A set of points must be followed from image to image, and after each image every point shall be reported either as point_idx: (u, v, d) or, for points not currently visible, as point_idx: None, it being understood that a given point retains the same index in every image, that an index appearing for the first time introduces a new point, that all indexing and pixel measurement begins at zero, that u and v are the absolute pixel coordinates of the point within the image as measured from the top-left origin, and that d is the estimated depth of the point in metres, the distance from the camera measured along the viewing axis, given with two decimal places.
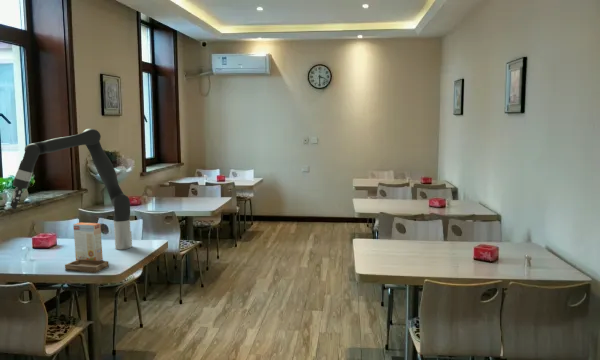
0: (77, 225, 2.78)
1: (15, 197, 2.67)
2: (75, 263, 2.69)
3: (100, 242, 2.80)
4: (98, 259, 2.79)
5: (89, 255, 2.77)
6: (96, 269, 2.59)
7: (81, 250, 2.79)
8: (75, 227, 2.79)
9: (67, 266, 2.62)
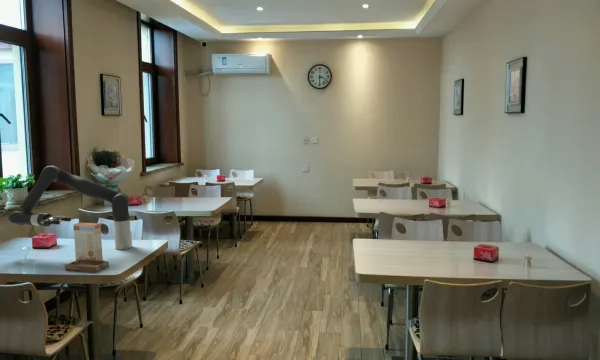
0: (77, 225, 2.78)
1: (46, 224, 2.78)
2: (75, 263, 2.69)
3: (100, 242, 2.80)
4: (98, 259, 2.79)
5: (89, 255, 2.77)
6: (96, 269, 2.59)
7: (81, 250, 2.79)
8: (75, 227, 2.79)
9: (67, 266, 2.62)
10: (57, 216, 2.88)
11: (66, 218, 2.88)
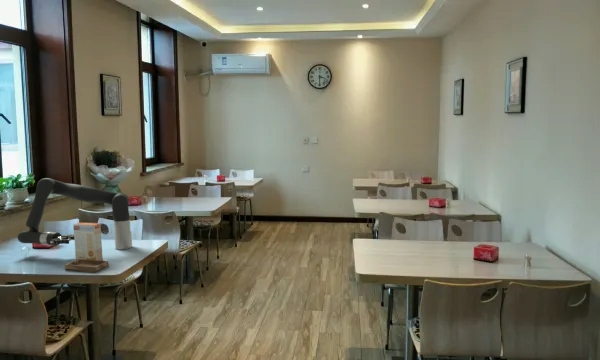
0: (77, 225, 2.78)
1: (55, 244, 2.78)
2: (75, 263, 2.69)
3: (100, 242, 2.80)
4: (98, 259, 2.79)
5: (89, 255, 2.77)
6: (96, 269, 2.59)
7: (81, 250, 2.79)
8: (75, 227, 2.79)
9: (67, 266, 2.62)
10: (66, 235, 2.88)
11: None
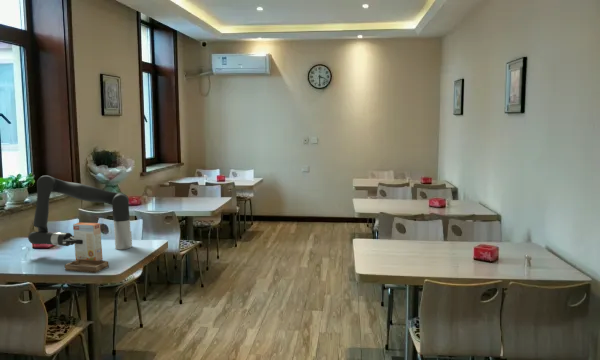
0: (77, 225, 2.78)
1: (69, 244, 2.77)
2: (75, 263, 2.69)
3: (100, 242, 2.80)
4: (98, 259, 2.79)
5: (89, 255, 2.77)
6: (96, 269, 2.59)
7: (81, 250, 2.79)
8: (75, 227, 2.78)
9: (67, 266, 2.62)
10: None
11: None
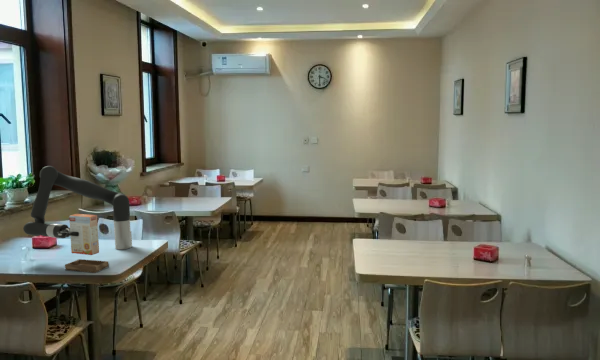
0: (73, 216, 2.68)
1: (65, 236, 2.66)
2: (75, 263, 2.69)
3: (97, 234, 2.69)
4: (94, 252, 2.68)
5: (85, 248, 2.67)
6: (96, 269, 2.59)
7: (77, 242, 2.69)
8: (71, 218, 2.68)
9: (67, 266, 2.62)
10: None
11: None
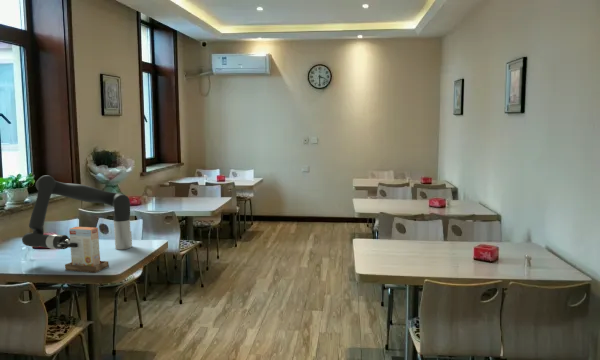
0: (73, 229, 2.62)
1: (63, 248, 2.60)
2: None
3: (98, 247, 2.64)
4: None
5: (86, 262, 2.61)
6: (96, 269, 2.59)
7: (77, 256, 2.63)
8: (71, 232, 2.62)
9: (67, 266, 2.62)
10: None
11: None
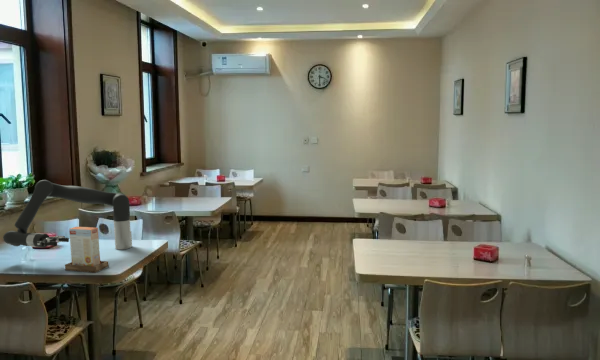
0: (73, 229, 2.62)
1: (42, 246, 2.63)
2: None
3: (98, 247, 2.64)
4: None
5: (86, 262, 2.61)
6: (96, 269, 2.59)
7: (77, 256, 2.63)
8: (71, 232, 2.62)
9: (67, 266, 2.62)
10: None
11: (64, 238, 2.73)
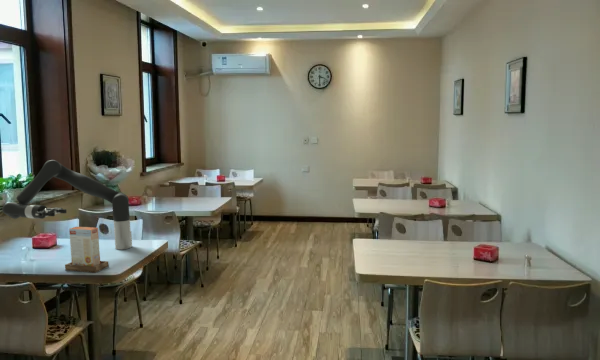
0: (73, 229, 2.62)
1: (41, 216, 2.69)
2: None
3: (98, 247, 2.64)
4: None
5: (86, 262, 2.61)
6: (96, 269, 2.59)
7: (77, 256, 2.63)
8: (71, 232, 2.62)
9: (67, 266, 2.62)
10: (52, 208, 2.78)
11: (61, 210, 2.78)
